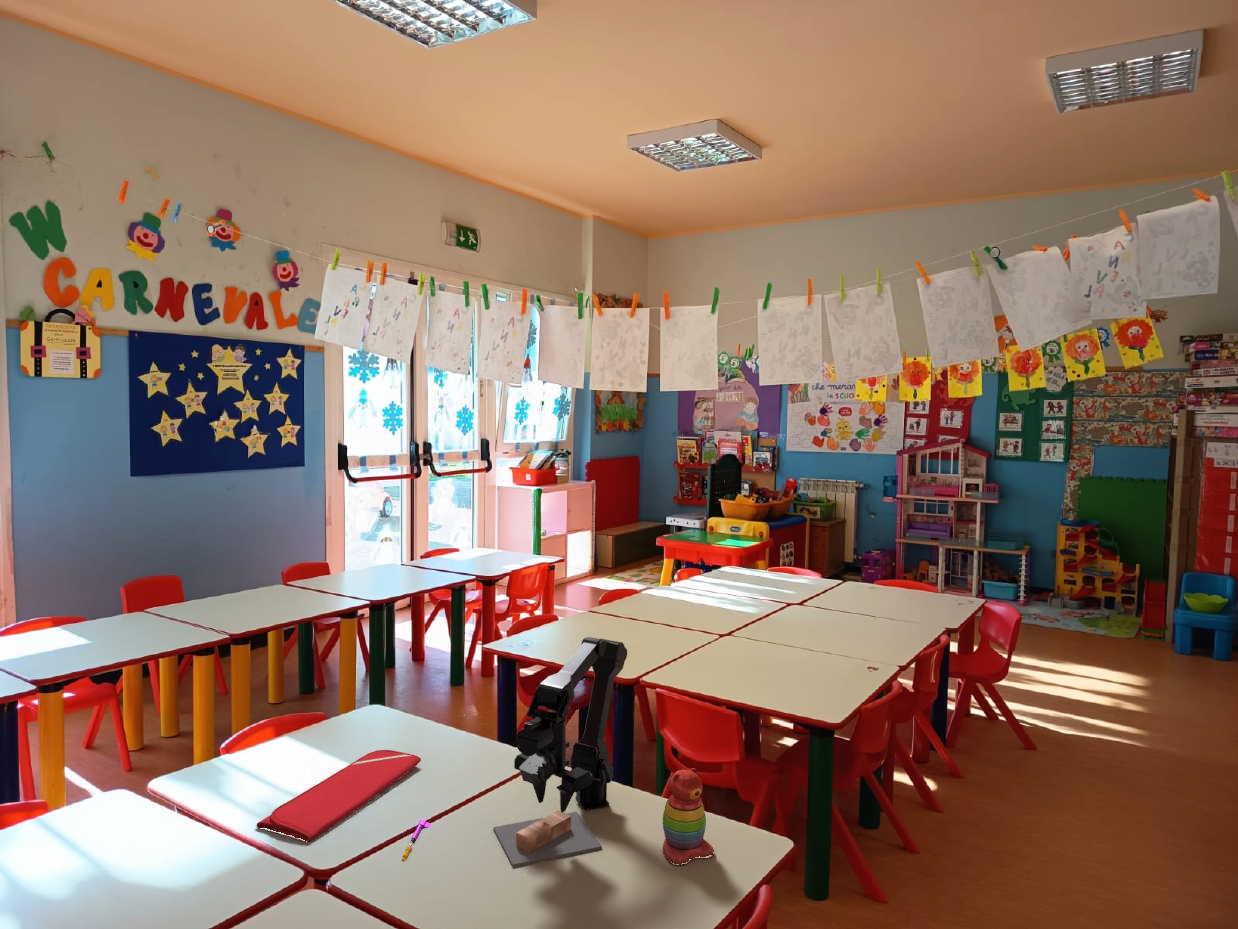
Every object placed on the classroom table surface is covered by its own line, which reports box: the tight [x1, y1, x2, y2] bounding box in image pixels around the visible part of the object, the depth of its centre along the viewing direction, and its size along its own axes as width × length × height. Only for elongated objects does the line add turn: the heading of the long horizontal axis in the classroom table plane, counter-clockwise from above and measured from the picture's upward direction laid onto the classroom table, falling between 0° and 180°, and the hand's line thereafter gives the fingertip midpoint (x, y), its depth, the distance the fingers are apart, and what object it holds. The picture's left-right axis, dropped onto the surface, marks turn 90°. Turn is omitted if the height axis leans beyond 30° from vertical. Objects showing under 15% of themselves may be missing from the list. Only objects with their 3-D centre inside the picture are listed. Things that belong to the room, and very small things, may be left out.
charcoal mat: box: [493, 811, 603, 868], centre depth 183 cm, size 20×16×1 cm
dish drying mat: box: [256, 749, 422, 843], centre depth 201 cm, size 16×41×4 cm, turn 158°
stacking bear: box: [662, 767, 715, 865], centre depth 179 cm, size 11×10×18 cm
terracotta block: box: [516, 810, 571, 852], centre depth 183 cm, size 3×4×13 cm
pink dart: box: [401, 818, 432, 862], centre depth 181 cm, size 3×1×16 cm
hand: (551, 807), depth 184 cm, fingers open, 6 cm apart
